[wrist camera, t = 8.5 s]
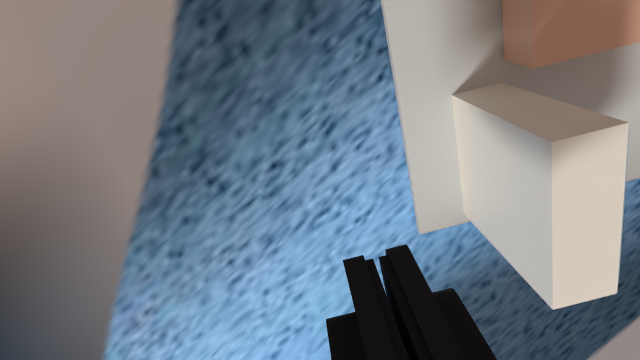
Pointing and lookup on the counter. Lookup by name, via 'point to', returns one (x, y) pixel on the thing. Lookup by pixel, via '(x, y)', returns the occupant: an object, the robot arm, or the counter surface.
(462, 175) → the cream block
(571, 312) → the counter surface
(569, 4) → the salmon pink block
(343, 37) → the counter surface
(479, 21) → the grey mat
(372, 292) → the robot arm
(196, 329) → the counter surface
